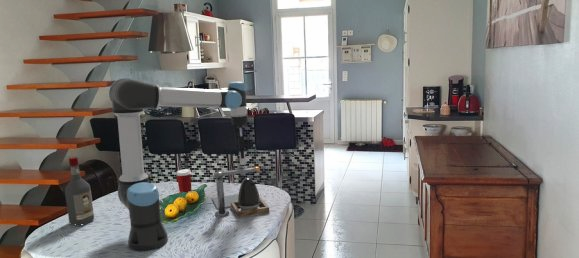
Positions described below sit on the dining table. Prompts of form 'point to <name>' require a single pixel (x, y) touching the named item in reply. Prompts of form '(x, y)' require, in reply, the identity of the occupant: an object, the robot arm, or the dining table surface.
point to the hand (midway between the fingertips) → (243, 164)
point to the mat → (226, 200)
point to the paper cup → (184, 180)
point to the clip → (235, 172)
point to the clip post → (220, 198)
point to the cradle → (252, 211)
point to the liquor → (78, 197)
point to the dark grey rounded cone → (248, 195)
